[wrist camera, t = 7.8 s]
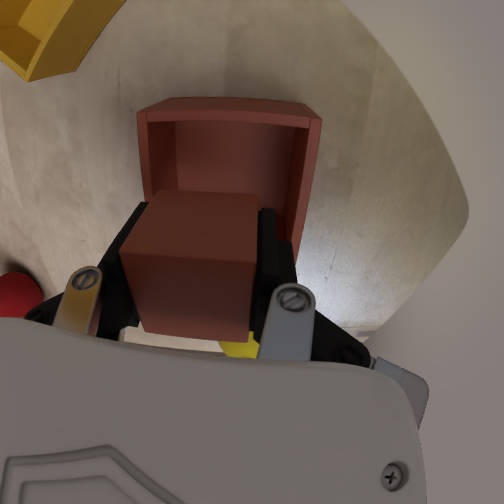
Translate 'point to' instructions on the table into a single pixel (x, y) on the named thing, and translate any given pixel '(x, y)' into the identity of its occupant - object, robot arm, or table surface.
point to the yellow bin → (50, 34)
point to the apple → (18, 294)
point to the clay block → (194, 264)
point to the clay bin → (233, 152)
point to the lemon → (241, 348)
